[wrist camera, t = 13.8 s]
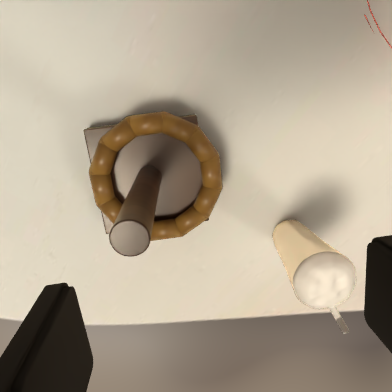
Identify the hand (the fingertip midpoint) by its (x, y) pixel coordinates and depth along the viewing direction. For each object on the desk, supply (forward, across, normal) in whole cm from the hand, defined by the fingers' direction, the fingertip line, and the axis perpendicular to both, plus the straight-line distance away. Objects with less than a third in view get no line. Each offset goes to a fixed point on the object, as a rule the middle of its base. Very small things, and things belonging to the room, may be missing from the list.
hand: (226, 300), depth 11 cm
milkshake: (+20, -8, +8) cm, 23 cm away
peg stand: (+20, +3, 0) cm, 20 cm away
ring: (+17, +3, 0) cm, 18 cm away
